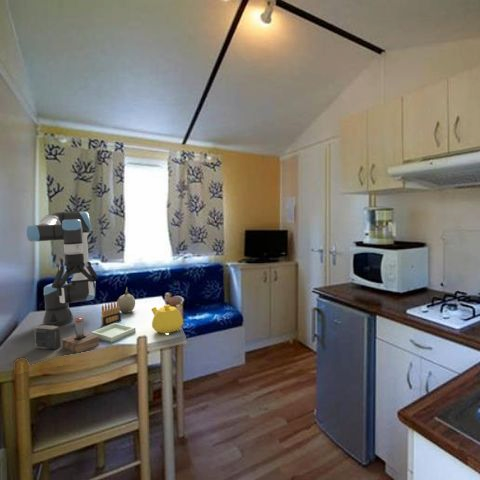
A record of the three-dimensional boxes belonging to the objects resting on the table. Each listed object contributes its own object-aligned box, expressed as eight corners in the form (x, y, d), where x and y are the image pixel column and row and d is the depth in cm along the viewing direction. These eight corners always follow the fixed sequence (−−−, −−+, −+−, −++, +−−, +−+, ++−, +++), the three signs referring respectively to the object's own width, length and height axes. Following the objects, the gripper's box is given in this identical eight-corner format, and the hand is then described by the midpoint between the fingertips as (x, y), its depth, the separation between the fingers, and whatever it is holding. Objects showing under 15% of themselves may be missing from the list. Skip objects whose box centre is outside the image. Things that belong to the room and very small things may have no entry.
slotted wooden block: (63, 347, 133) (62, 339, 133) (83, 339, 142) (83, 331, 142) (77, 353, 127) (77, 344, 127) (98, 344, 136) (98, 336, 136)
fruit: (126, 316, 175) (124, 292, 174) (114, 313, 181) (112, 290, 180) (140, 311, 184) (138, 288, 183) (128, 308, 190) (127, 286, 189)
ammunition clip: (103, 326, 159) (101, 305, 158) (101, 325, 160) (100, 304, 159) (121, 320, 168) (119, 300, 167) (119, 320, 169) (118, 300, 168)
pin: (75, 346, 134) (73, 319, 133) (82, 344, 137) (80, 317, 136) (79, 348, 132) (77, 320, 131) (86, 345, 135) (84, 318, 134)
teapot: (141, 331, 150) (139, 305, 149) (165, 322, 163) (164, 298, 162) (165, 339, 138) (163, 312, 137) (189, 329, 151) (188, 303, 150)
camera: (63, 345, 136) (61, 325, 135) (52, 351, 130) (50, 330, 129) (44, 344, 139) (42, 323, 138) (32, 349, 133) (30, 328, 132)
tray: (91, 336, 145) (91, 331, 145) (115, 327, 157) (115, 322, 157) (111, 342, 137) (111, 337, 137) (135, 332, 149) (135, 327, 149)
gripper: (49, 257, 119) (53, 307, 120) (104, 250, 140) (107, 293, 142) (39, 256, 123) (44, 305, 124) (94, 249, 144) (97, 291, 146)
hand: (77, 298), depth 133 cm, fingers open, 13 cm apart
